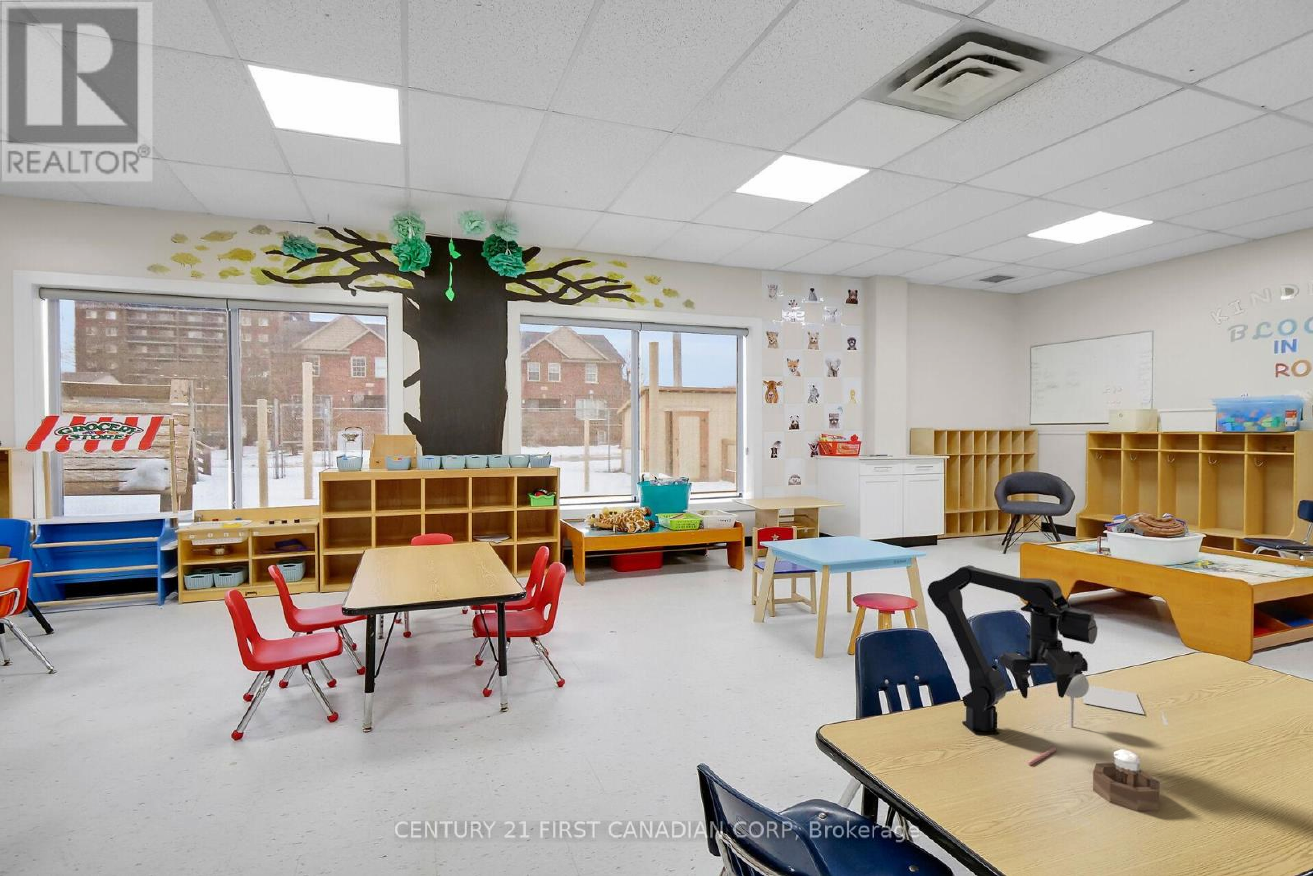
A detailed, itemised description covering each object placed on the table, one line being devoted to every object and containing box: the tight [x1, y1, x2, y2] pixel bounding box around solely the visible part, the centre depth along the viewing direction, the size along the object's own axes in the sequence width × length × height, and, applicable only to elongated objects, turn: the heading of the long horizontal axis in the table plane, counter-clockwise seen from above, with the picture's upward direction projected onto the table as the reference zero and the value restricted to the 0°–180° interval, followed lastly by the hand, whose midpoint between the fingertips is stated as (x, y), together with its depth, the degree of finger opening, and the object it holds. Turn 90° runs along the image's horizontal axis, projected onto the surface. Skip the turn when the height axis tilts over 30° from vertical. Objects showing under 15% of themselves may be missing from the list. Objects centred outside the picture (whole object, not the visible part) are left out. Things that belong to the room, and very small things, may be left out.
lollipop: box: [1064, 673, 1090, 728], centre depth 166 cm, size 7×7×15 cm
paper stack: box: [1081, 684, 1170, 726], centre depth 178 cm, size 23×25×1 cm
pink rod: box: [1027, 747, 1057, 766], centre depth 150 cm, size 13×1×1 cm, turn 125°
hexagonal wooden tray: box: [1092, 762, 1161, 812], centre depth 134 cm, size 11×11×4 cm
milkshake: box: [1109, 745, 1141, 787], centre depth 134 cm, size 4×5×10 cm
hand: (1042, 697), depth 153 cm, fingers open, 9 cm apart
